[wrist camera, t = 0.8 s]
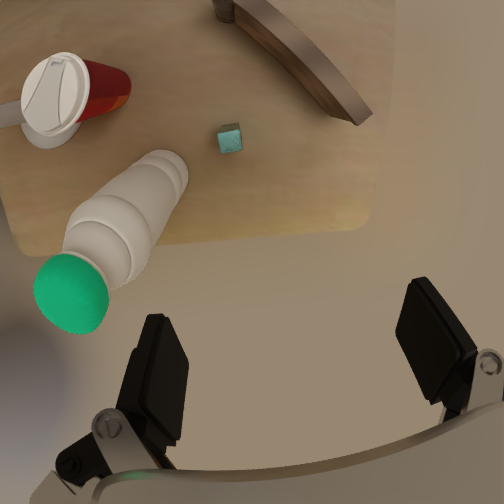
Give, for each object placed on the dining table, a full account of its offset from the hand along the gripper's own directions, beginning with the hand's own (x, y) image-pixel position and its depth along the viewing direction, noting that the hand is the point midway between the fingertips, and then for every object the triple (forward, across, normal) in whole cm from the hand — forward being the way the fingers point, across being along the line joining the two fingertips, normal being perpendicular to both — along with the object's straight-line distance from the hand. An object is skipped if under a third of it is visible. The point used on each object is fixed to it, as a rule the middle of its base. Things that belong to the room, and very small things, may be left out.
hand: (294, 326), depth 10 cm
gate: (+26, -5, -12) cm, 29 cm away
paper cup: (+27, +16, -13) cm, 34 cm away
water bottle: (+27, +12, 0) cm, 30 cm away
